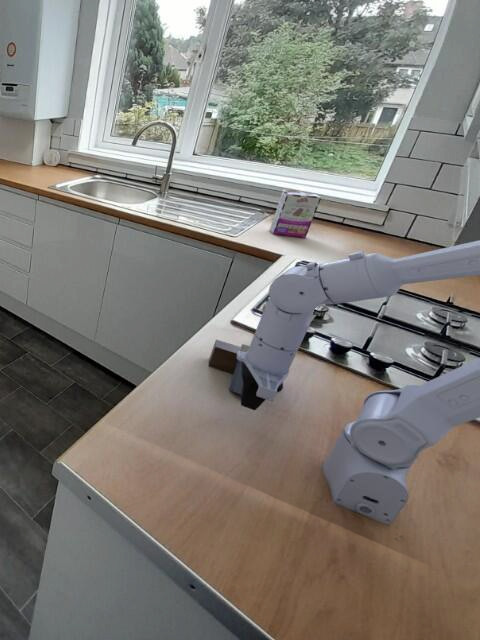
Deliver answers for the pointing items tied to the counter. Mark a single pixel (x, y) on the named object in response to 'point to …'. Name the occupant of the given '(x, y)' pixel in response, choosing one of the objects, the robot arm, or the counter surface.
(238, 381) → the blue lidded container
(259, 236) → the counter surface
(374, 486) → the robot arm
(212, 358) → the pale-topped brown beam
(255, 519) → the counter surface
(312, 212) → the candy bar box
